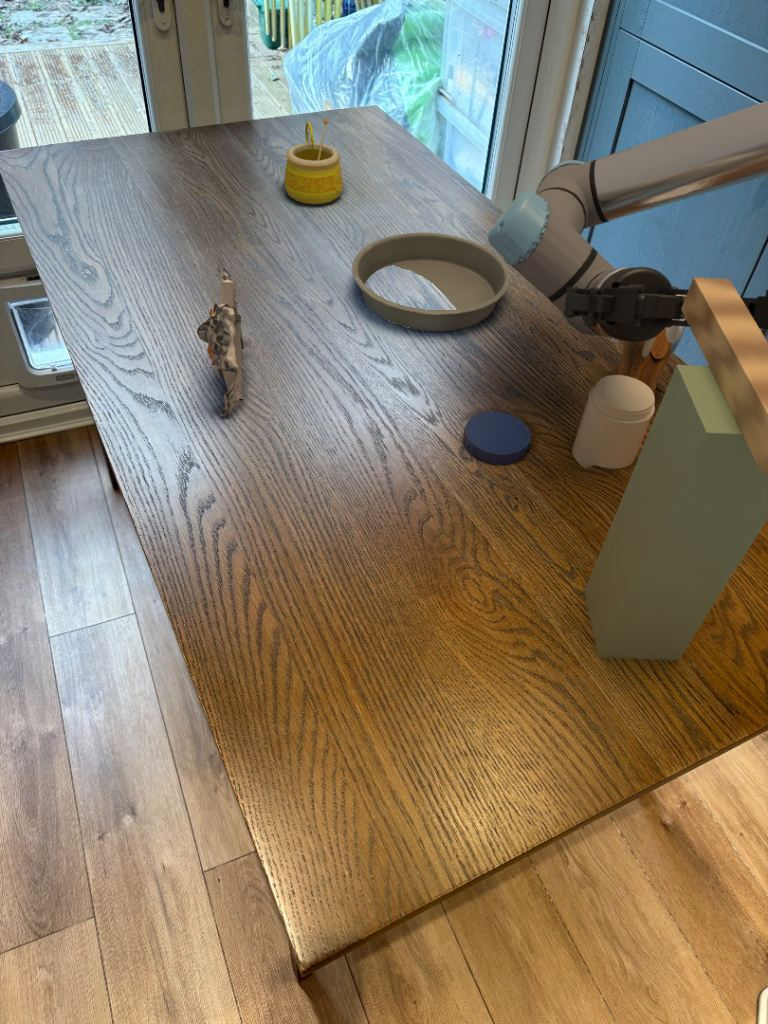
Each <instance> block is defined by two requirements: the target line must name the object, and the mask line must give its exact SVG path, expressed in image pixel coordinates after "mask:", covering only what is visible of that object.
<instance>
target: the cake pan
mask: <svg viewBox="0 0 768 1024" xmlns="http://www.w3.org/2000/svg"><path fill="white" fill-rule="evenodd" d="M392 265H395V266H397V267H400V268H402V269H406V270H411V271H413V272H414V273H416V274H418V275H421V276H423V277H424V278H426V279H427V280H429V281H430V282H431V283H433V284H434V285H435V286H436V287H437V288H438V289H439V290H440V291H441V292H442V293H443V294H444V295H445V296H446V297H447V298H448V299H449V301H450V302H451V303H452V304H453V305H454V306H455V307H456V308H457V309H456V310H425V309H417V308H412V307H407V306H403V305H400V304H396V303H393V302H391V301H388V300H386V299H384V298H382V297H380V296H378V295H377V294H375V293H374V292H372V291H371V290H370V289H368V288H367V287H366V286H365V283H366V281H367V280H368V278H369V277H370V276H371V275H372V274H374V273H375V272H376V271H378V270H380V269H382V268H384V267H387V266H392ZM351 272H352V276H353V278H354V281H355V283H356V284H357V286H358V287H359V288H360V289H361V292H362V296H363V299H364V302H365V301H366V302H365V303H366V305H367V304H368V305H367V306H368V307H369V309H370V308H371V309H372V310H373V311H374V312H373V311H372V310H371V309H370V310H371V311H372V312H373V313H375V312H376V313H377V314H378V315H377V314H376V313H375V314H376V315H377V316H379V315H380V316H381V317H380V316H379V317H380V318H382V317H383V318H385V319H387V320H389V321H391V322H393V323H392V324H394V323H396V324H398V325H397V326H399V325H401V326H400V327H402V326H405V327H404V328H406V327H409V328H408V329H410V328H413V329H412V330H414V329H419V330H418V331H421V330H425V331H424V332H432V331H443V332H451V331H450V330H453V331H458V330H457V329H459V330H463V329H462V328H464V329H467V328H470V327H473V326H475V325H477V324H479V323H481V322H483V321H484V320H486V319H487V318H488V317H489V316H490V315H491V314H492V313H493V311H494V310H495V307H496V305H497V302H498V301H499V300H500V299H501V298H502V297H504V295H505V294H506V293H507V291H508V289H509V287H510V284H511V275H510V274H511V273H510V271H509V268H508V266H507V265H506V262H505V261H503V259H501V257H500V256H498V255H497V254H496V253H495V252H493V251H492V250H490V249H488V248H487V247H485V246H483V245H481V244H480V243H477V242H475V241H472V240H469V239H466V238H462V237H459V236H456V235H451V234H444V233H435V232H408V233H400V234H395V235H390V236H386V237H383V238H380V239H378V240H376V241H373V242H371V243H370V244H368V245H366V246H365V247H363V248H362V249H361V250H360V251H359V252H358V253H357V254H356V256H355V257H354V259H353V262H352V265H351ZM486 317H487V318H486ZM383 318H382V319H383ZM385 319H384V320H385ZM387 320H386V321H387ZM482 320H483V321H482ZM389 321H388V322H389ZM480 321H481V322H480ZM391 322H390V323H391ZM396 324H395V325H396ZM474 324H475V325H474ZM472 325H473V326H472ZM469 326H470V327H469ZM466 327H467V328H466Z"/></svg>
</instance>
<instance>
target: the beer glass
mask: <svg viewBox="0 0 768 1024" xmlns="http://www.w3.org/2000/svg"><path fill="white" fill-rule="evenodd" d="M676 296H687V295H676ZM685 319H686V318H685ZM685 319H672V320H680V321H684V320H685ZM685 330H686V327H685V326H672V327H669V328H665V329H664V330H663V331H662V332H661V333H660V334H658V335H657V336H655V337H654V338H652V339H650V340H647V341H644V342H637V343H633V342H626V341H623V345H622V354H621V360H620V365H619V369H618V371H617V373H616V375H623V376H628V377H632V378H635V379H637V380H639V381H641V382H643V383H645V384H646V385H647V386H648V387H649V388H650V389H651V390H652V392H653V394H654V396H655V394H656V390H657V389H656V388H657V384H658V380H659V379H660V376H661V375H662V372H663V371H664V370H665V367H667V364H669V361H670V360H671V358H672V357H673V355H674V353H675V352H676V350H677V349H678V347H679V344H680V342H681V340H682V338H683V336H684V333H685Z"/></svg>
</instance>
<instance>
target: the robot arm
mask: <svg viewBox="0 0 768 1024" xmlns="http://www.w3.org/2000/svg"><path fill="white" fill-rule="evenodd" d="M767 176H768V100H765V101H762V102H760V103H757V104H754V105H752V106H748V107H746V108H742V109H739V110H737V111H734V112H731V113H728V114H725V115H722V116H719V117H716V118H713V119H711V120H708V121H704V122H702V123H699V124H696V125H692V126H690V127H686V128H684V129H681V130H678V131H675V132H672V133H669V134H667V135H663V136H661V137H658V138H655V139H652V140H649V141H645V142H643V143H641V144H637V145H635V146H631V147H629V148H626V149H623V150H620V151H617V152H613V153H611V154H608V155H605V156H603V157H600V158H597V159H596V158H595V159H594V160H589V161H587V162H585V161H582V160H579V159H568V160H563V161H561V162H559V163H557V164H555V165H554V166H553V167H552V168H551V169H550V170H549V171H548V172H547V173H546V174H545V175H544V176H543V177H542V178H541V179H540V181H539V183H538V186H537V188H536V190H535V191H533V190H523V191H522V192H520V193H519V194H518V195H517V196H516V197H515V198H514V199H513V200H512V202H511V203H510V204H509V205H508V207H506V209H504V211H502V213H501V214H500V216H499V217H498V219H497V220H496V221H495V222H494V224H493V225H492V226H491V228H490V230H489V232H488V234H487V240H488V243H489V245H490V246H491V247H492V248H493V249H494V250H495V251H496V252H497V253H498V254H499V255H500V256H501V257H502V258H503V259H502V260H504V263H505V264H507V265H509V266H511V267H512V268H513V269H514V270H515V271H516V272H517V273H519V274H520V275H521V276H522V277H523V278H524V279H525V280H526V281H527V282H529V283H530V284H531V285H532V286H533V287H534V288H536V289H537V290H538V292H539V293H541V294H542V295H543V296H544V297H545V298H547V300H549V301H550V303H551V304H552V305H554V306H555V308H556V309H558V310H559V311H560V312H561V314H562V317H563V318H564V320H565V322H566V323H567V324H568V325H569V326H571V328H573V329H574V330H576V331H577V332H579V333H580V334H585V335H587V336H598V337H603V338H609V343H610V344H611V345H617V344H619V342H620V341H622V342H624V341H626V342H633V343H637V342H644V341H647V340H650V339H652V338H654V337H655V336H657V335H658V334H660V333H661V332H662V331H663V330H664V329H665V328H669V327H672V326H685V327H687V328H690V326H689V324H688V322H687V320H686V319H685V316H684V314H683V312H682V310H681V309H682V306H683V303H684V301H685V298H686V296H676V295H687V293H688V290H689V289H684V288H683V289H681V288H679V287H677V286H673V285H672V283H671V281H670V280H669V279H668V278H667V276H666V275H664V273H662V272H660V270H657V269H655V268H652V267H647V266H635V267H634V266H633V267H630V266H628V267H614V266H613V265H612V264H611V263H610V262H609V261H608V260H607V259H606V258H605V257H604V256H602V255H601V254H600V253H599V252H598V251H597V250H596V249H595V248H594V246H593V245H591V244H590V243H589V242H588V241H587V240H586V239H585V238H584V237H583V236H582V234H583V232H584V230H585V229H589V228H591V227H595V226H598V225H599V226H600V225H602V224H606V223H608V222H611V221H614V220H618V219H621V218H625V217H628V216H632V215H636V214H638V213H639V214H640V213H642V212H645V211H649V210H653V209H657V208H660V207H663V206H666V205H670V204H674V203H677V202H680V201H684V200H687V199H691V198H694V197H697V196H701V195H704V194H708V193H712V192H715V191H718V190H723V189H726V188H728V187H733V186H735V185H740V184H742V183H746V182H749V181H753V180H757V179H760V178H765V177H767ZM740 297H741V296H740ZM741 299H742V301H743V302H744V304H745V306H746V307H747V309H748V310H749V312H750V314H751V315H752V317H753V319H754V320H755V322H756V324H757V325H758V327H759V329H760V330H761V329H762V330H768V289H766V291H765V295H758V296H757V297H743V296H742V297H741ZM672 319H685V320H684V321H680V320H672Z"/></svg>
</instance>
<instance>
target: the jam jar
mask: <svg viewBox="0 0 768 1024" xmlns="http://www.w3.org/2000/svg"><path fill="white" fill-rule="evenodd" d="M655 397H656V396H655V395H654V394H653V392H652V390H651V389H650V388H649V387H648V386H647V385H646V384H645V383H643V382H641V381H639V380H637V379H635V378H632V377H628V376H623V375H617V374H611V375H605V376H603V377H601V378H600V379H599V380H598V381H597V382H596V384H595V386H594V387H592V388H591V389H590V391H589V393H588V396H587V399H586V402H585V405H584V409H583V412H582V415H581V418H580V421H579V424H578V428H577V431H576V434H575V437H574V440H573V443H572V447H571V452H572V457H573V458H574V460H575V462H577V463H578V464H579V466H581V467H582V468H583V469H589V468H591V467H593V466H596V467H600V468H605V469H622V468H626V467H628V466H631V464H633V463H634V461H635V460H636V458H637V456H638V453H639V450H640V448H641V445H642V443H643V441H644V438H645V436H646V433H647V431H648V429H649V426H650V425H651V424H650V423H651V421H652V418H653V416H654V413H655V409H656V408H655V403H656V398H655Z"/></svg>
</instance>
